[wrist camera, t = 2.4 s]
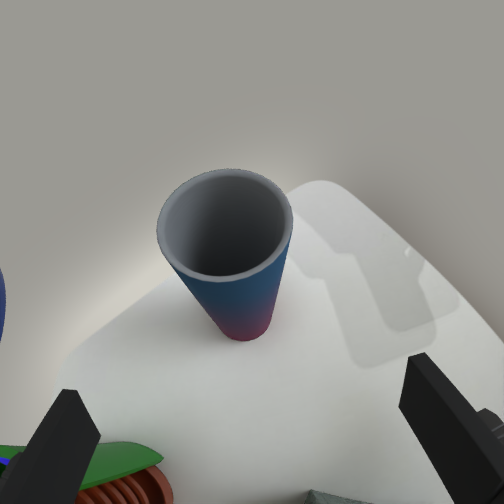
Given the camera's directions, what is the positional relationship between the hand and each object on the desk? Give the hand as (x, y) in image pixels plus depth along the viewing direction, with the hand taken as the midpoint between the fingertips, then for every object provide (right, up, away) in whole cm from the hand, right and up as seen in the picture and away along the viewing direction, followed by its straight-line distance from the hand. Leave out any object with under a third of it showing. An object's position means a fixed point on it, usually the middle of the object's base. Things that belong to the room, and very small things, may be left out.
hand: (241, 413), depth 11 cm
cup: (0, 0, +18) cm, 18 cm away
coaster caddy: (-11, -15, +10) cm, 21 cm away
